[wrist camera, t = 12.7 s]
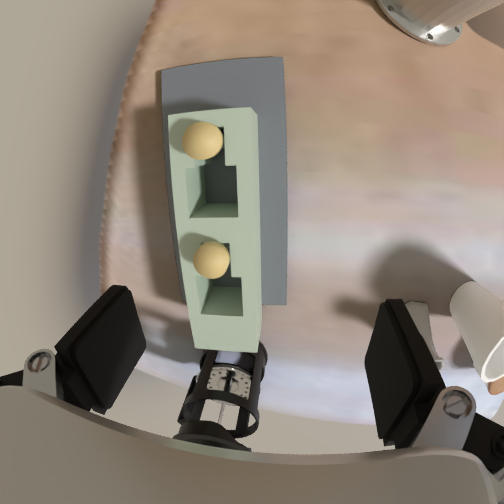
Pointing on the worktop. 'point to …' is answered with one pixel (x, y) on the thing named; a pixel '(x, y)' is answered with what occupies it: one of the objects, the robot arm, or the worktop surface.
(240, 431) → the french press
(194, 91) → the board
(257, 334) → the pale green slotted holder
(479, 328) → the foam cup
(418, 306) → the flask
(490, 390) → the lidded jar
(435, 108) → the worktop surface
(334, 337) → the worktop surface
